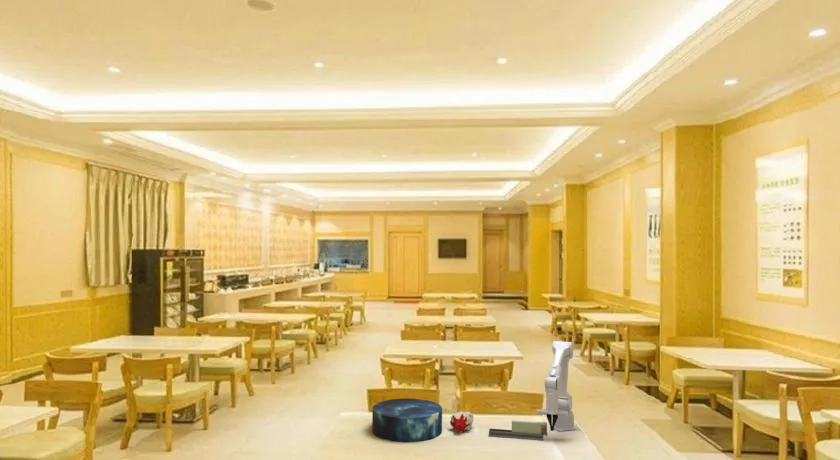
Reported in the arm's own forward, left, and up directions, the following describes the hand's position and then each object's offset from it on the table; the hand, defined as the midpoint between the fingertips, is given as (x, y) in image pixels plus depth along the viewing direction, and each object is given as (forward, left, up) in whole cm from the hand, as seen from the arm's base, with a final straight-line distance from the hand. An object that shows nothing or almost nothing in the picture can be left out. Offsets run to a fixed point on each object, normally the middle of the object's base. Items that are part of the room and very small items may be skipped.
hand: (552, 430), depth 276 cm
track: (+14, -10, -4) cm, 18 cm away
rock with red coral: (+37, -25, -5) cm, 45 cm away
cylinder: (+62, -34, -5) cm, 71 cm away
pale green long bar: (+10, -7, -3) cm, 13 cm away
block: (0, -9, -4) cm, 10 cm away
